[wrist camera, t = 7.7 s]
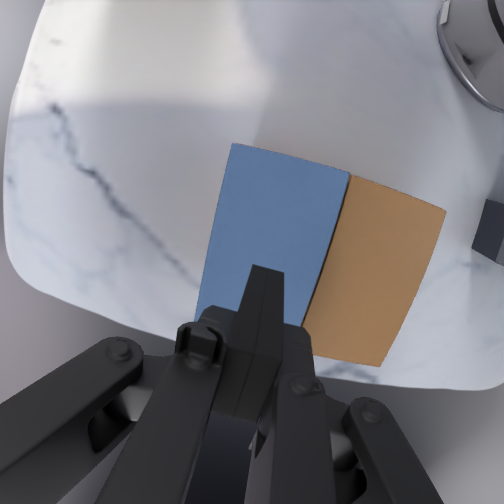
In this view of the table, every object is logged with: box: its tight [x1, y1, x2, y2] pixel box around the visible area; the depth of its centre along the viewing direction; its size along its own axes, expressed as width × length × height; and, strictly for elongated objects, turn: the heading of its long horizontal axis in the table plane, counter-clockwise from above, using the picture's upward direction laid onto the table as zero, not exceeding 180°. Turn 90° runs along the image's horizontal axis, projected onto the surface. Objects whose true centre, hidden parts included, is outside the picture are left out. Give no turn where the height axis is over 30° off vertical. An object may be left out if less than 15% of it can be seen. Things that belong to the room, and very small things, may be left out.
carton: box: [236, 143, 446, 367], centre depth 24 cm, size 15×13×10 cm
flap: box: [194, 143, 350, 327], centre depth 18 cm, size 7×13×1 cm, turn 168°
